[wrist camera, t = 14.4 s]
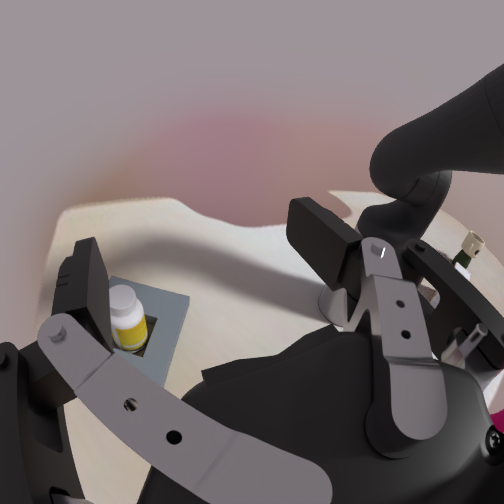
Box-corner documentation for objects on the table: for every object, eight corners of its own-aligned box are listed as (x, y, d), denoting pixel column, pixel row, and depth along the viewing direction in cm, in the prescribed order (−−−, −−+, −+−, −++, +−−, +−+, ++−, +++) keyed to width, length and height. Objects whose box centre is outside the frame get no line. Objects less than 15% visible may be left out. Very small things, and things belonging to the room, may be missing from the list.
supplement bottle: (155, 334, 38) (149, 292, 31) (134, 360, 34) (122, 322, 27) (128, 317, 39) (118, 274, 32) (107, 341, 35) (91, 299, 28)
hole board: (114, 283, 43) (112, 275, 42) (189, 304, 43) (189, 296, 42) (68, 371, 29) (63, 364, 28) (158, 405, 29) (156, 400, 28)
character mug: (461, 277, 68) (482, 247, 60) (447, 263, 72) (467, 232, 64) (467, 269, 73) (486, 241, 65) (454, 256, 78) (472, 228, 69)
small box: (435, 289, 60) (456, 260, 53) (449, 302, 57) (471, 273, 51) (428, 303, 55) (452, 272, 49) (443, 317, 52) (468, 287, 46)
